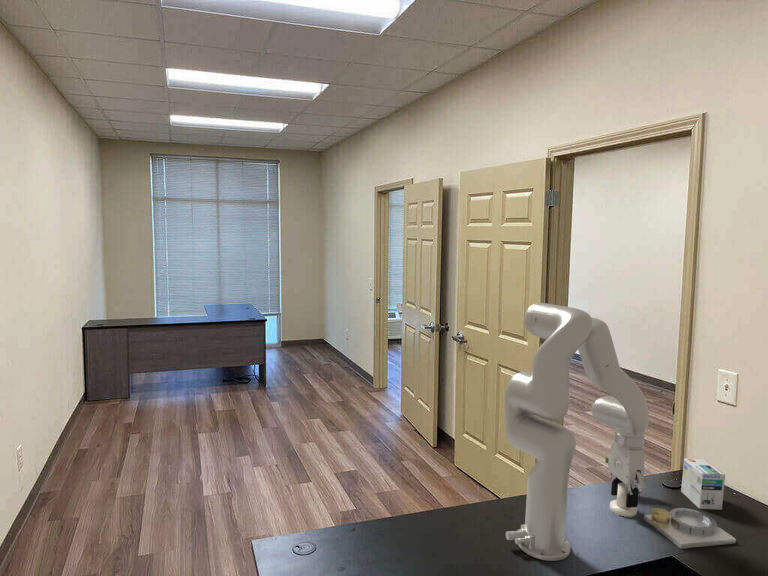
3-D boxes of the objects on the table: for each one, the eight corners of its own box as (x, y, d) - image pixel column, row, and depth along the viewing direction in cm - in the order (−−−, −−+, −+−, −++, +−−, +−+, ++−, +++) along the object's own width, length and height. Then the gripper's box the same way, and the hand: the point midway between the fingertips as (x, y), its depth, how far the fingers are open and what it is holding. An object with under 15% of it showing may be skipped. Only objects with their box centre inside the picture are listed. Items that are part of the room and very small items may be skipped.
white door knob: (619, 518, 152) (621, 492, 151) (604, 505, 159) (606, 480, 158) (642, 516, 153) (644, 490, 152) (626, 503, 160) (628, 479, 159)
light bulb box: (722, 510, 158) (726, 474, 157) (699, 509, 158) (702, 473, 157) (701, 492, 169) (705, 458, 167) (679, 491, 169) (683, 457, 167)
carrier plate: (680, 548, 138) (681, 536, 138) (643, 519, 152) (644, 508, 151) (735, 543, 141) (736, 531, 141) (694, 514, 155) (695, 503, 154)
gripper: (598, 428, 161) (594, 487, 163) (636, 452, 144) (631, 517, 146) (622, 427, 163) (617, 485, 165) (662, 451, 146) (656, 515, 148)
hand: (623, 500), depth 156 cm, fingers open, 6 cm apart
